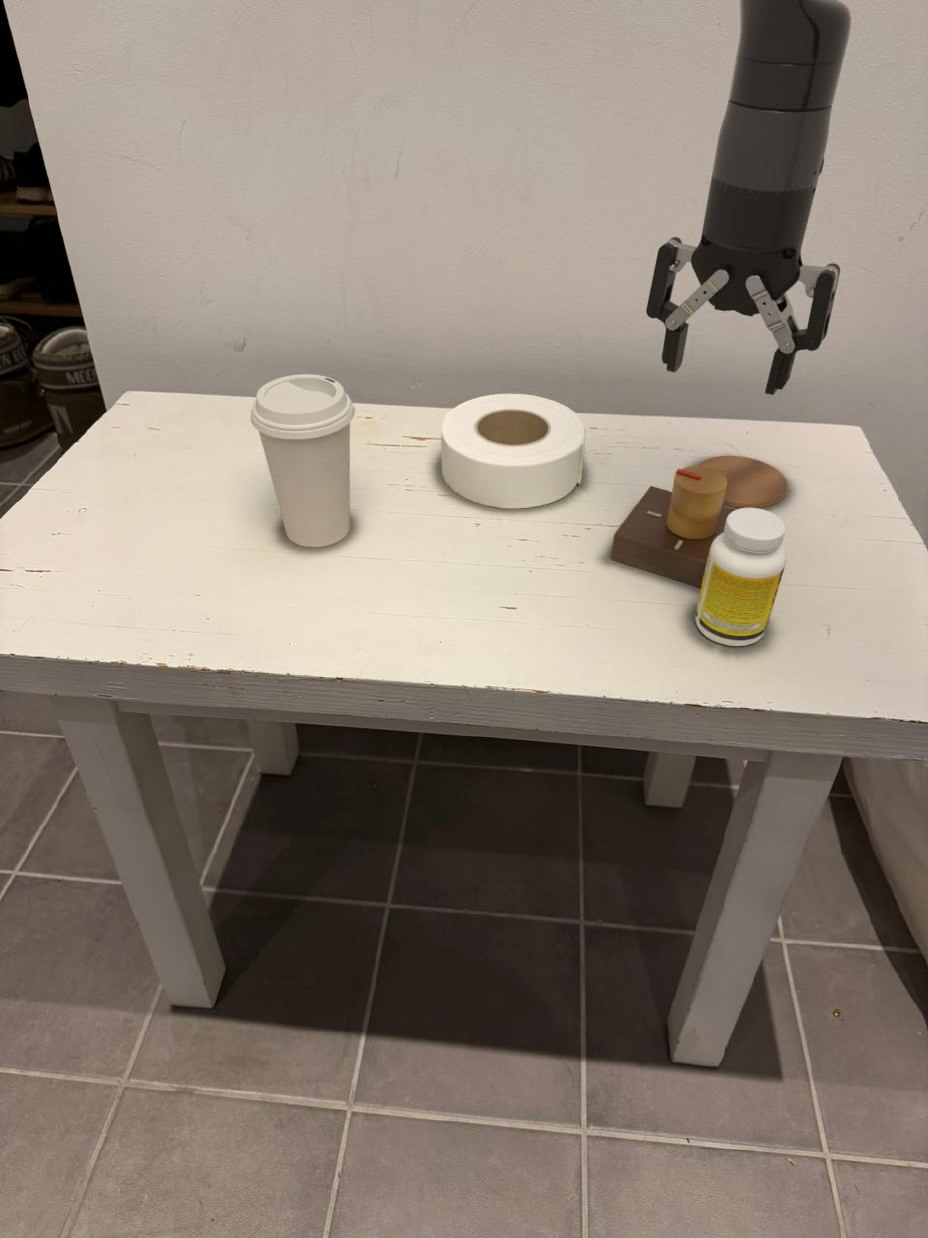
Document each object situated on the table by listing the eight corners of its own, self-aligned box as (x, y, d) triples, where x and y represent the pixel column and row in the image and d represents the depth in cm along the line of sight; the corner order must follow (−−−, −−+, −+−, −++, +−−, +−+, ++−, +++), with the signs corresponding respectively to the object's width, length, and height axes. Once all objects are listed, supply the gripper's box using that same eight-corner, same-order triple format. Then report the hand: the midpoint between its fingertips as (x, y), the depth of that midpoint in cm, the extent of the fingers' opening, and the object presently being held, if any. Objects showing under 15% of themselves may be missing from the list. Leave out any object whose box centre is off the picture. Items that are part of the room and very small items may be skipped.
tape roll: (573, 517, 90) (578, 470, 87) (426, 500, 93) (425, 453, 89) (588, 443, 102) (593, 400, 98) (457, 430, 104) (457, 387, 101)
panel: (760, 542, 87) (767, 516, 85) (731, 597, 80) (738, 570, 78) (646, 509, 91) (650, 484, 89) (610, 559, 85) (614, 532, 83)
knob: (723, 520, 85) (734, 471, 81) (707, 545, 81) (719, 495, 78) (675, 506, 86) (685, 458, 83) (659, 530, 83) (668, 481, 80)
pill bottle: (776, 646, 75) (809, 542, 68) (707, 652, 75) (733, 548, 67) (749, 601, 80) (777, 499, 73) (684, 606, 79) (706, 504, 72)
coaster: (795, 474, 97) (797, 469, 96) (772, 518, 90) (774, 513, 90) (708, 452, 100) (709, 447, 100) (680, 492, 94) (681, 487, 94)
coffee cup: (378, 541, 87) (368, 404, 77) (287, 566, 84) (264, 426, 74) (345, 495, 93) (332, 362, 84) (259, 516, 90) (234, 382, 80)
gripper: (654, 170, 64) (627, 378, 74) (856, 198, 58) (795, 417, 69) (687, 149, 69) (657, 346, 79) (876, 173, 63) (816, 381, 74)
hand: (722, 379), depth 74 cm, fingers open, 8 cm apart
